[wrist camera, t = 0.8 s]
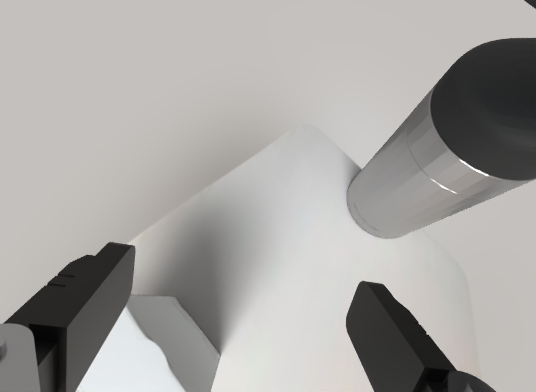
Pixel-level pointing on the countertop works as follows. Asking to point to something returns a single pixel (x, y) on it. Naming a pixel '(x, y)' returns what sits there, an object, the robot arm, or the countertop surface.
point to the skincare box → (153, 351)
